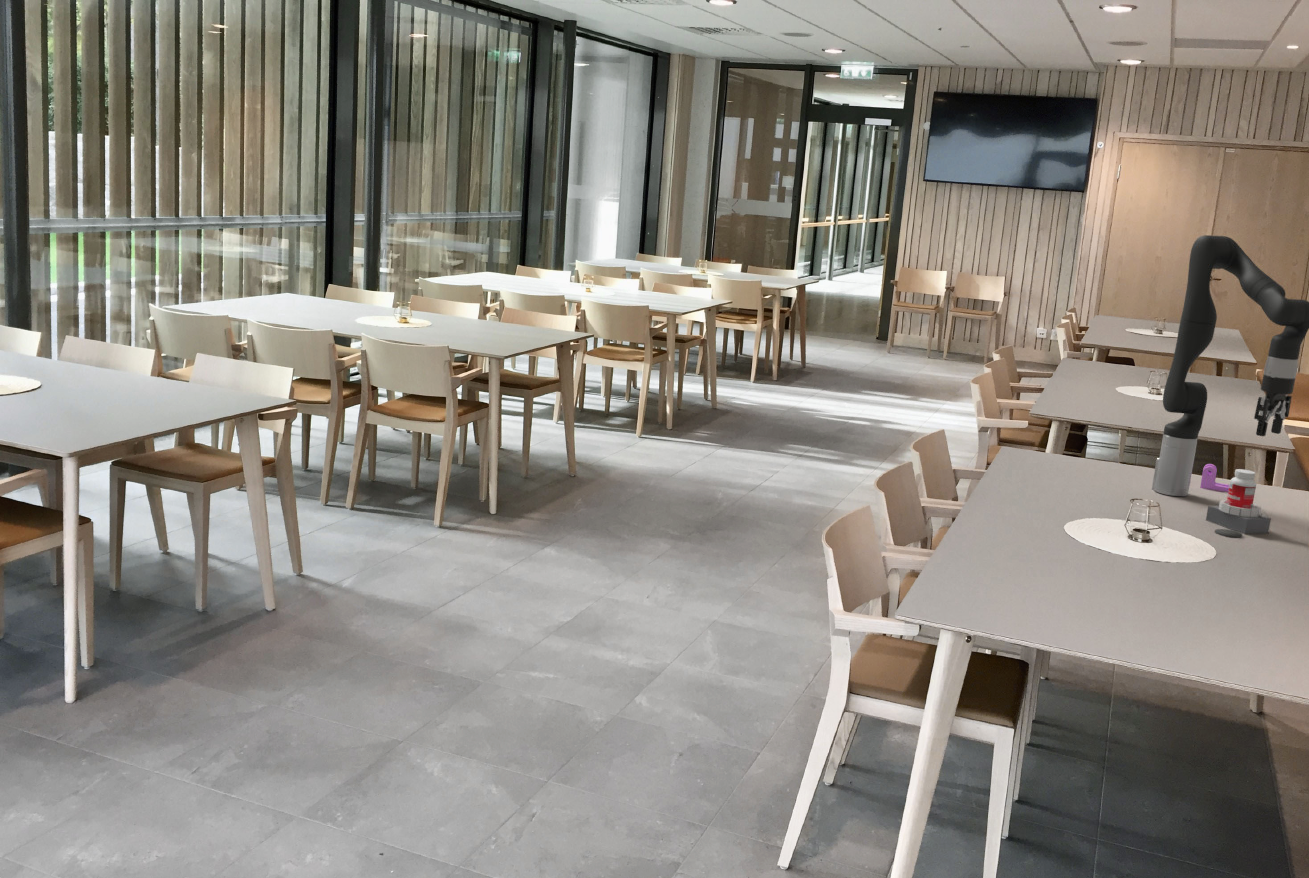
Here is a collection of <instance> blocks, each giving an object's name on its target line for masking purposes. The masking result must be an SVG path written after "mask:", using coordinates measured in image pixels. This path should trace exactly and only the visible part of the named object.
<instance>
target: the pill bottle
mask: <svg viewBox="0 0 1309 878" xmlns="http://www.w3.org/2000/svg"><path fill="white" fill-rule="evenodd" d="M1255 477H1256V472H1255V471H1253V470H1249V469H1244V468H1243V469H1242V468H1237V469H1235V471H1234V477H1232V478H1231V479H1230V480H1229V481H1230V482H1229V485H1230V486H1229V491H1228V492H1227V496H1226V500H1227V502H1226V504H1228V505H1231V506H1235V507H1240V508H1248V509H1252V505H1253V504H1254V499H1255V494H1256V488H1257V482H1256V481H1255V480H1254V479H1255Z"/></svg>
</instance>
